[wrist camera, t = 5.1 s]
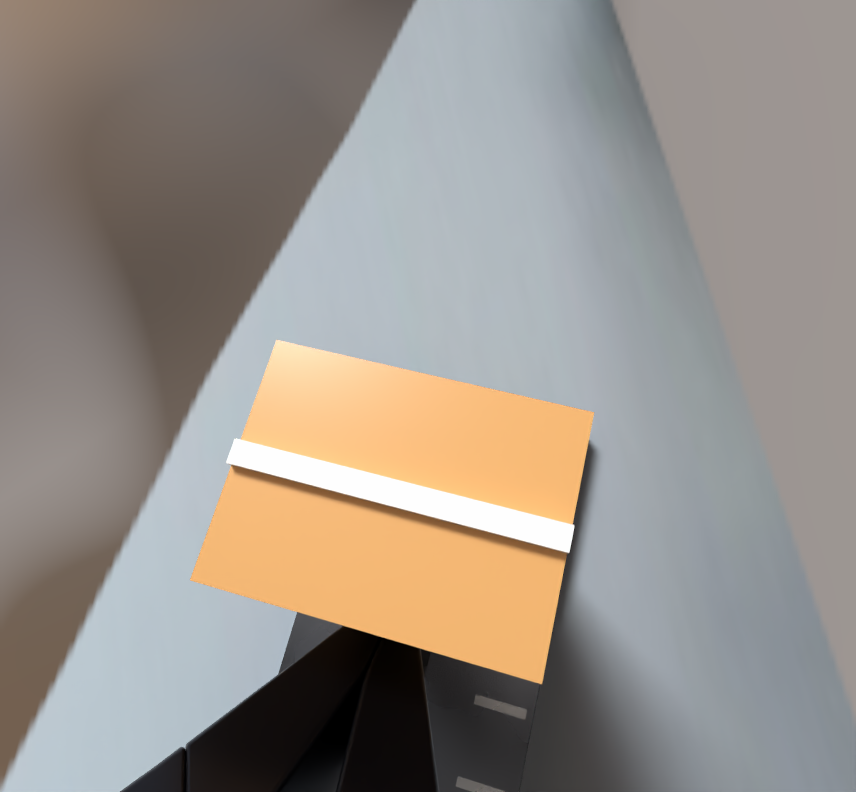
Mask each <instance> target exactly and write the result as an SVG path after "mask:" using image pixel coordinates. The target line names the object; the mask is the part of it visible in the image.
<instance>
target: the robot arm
mask: <svg viewBox="0 0 856 792" xmlns="http://www.w3.org/2000/svg"><path fill="white" fill-rule="evenodd" d="M120 792H439V785H438V777H437V770H436V762H435V755H434V747H433V740H432V732H431V725H430V717H429V710H428V702H427V694H426V687H425V679H424V672H423V664H422V657H421V649H420V648H417V647H414V646H410V645H407V644H404V643H400V642H397V641H394V640H390V639H387V638H383V637H380V636H377V635H373V634H370V633H367V632H363V631H360V630H356V629H353V628H350V627H346V626H342V627H341V628H339V629H338V630H337V631H335V632H334V633H333V634H331V635H330V636H329V637H327V638H326V639H325V640H323V641H322V642H321V643H319V644H318V645H317V646H315V647H314V648H313V649H311V650H310V651H309V652H307V653H306V654H305V655H303V656H302V657H301V658H300V659H298V660H297V661H296V662H294V663H293V664H292V665H290V666H289V667H288V668H286V669H285V670H284V671H282V672H281V673H280V674H278V675H277V676H276V677H274V678H273V679H272V680H270V681H269V682H268V683H266V684H265V685H264V686H262V687H261V688H260V689H258V690H257V691H256V692H254V693H253V694H252V695H250V696H249V697H248V698H246V699H245V700H244V701H243V702H241V703H240V704H239V705H237V706H236V707H235V708H233V709H232V710H231V711H229V712H228V713H227V714H225V715H224V716H223V717H221V718H220V719H219V720H217V721H216V722H215V723H213V724H212V725H211V726H209V727H208V728H207V729H205V730H204V731H203V732H201V733H200V734H199V735H197V736H196V737H195V738H193V739H192V740H191V741H190V742H188V743H187V744H186V751H185V748H184V747H180V748H179V749H178V750H176V751H175V752H174V753H172V754H171V755H170V756H168V757H167V758H166V759H164V760H163V761H162V762H160V763H159V764H158V765H157V766H155V767H154V768H152V769H151V770H150V771H148V772H147V773H145V774H144V775H143V776H141V777H140V778H138V779H137V780H136V781H134V782H133V783H131V784H130V785H129V786H127V787H126V788H124V789H123V790H122V791H120Z"/></svg>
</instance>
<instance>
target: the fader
mask: <svg viewBox="0 0 856 792" xmlns="http://www.w3.org/2000/svg"><path fill="white" fill-rule="evenodd" d="M593 416H594V412H590V411H586V410H581V409H577V408H573V407H568V406H564V405H560V404H555V403H551V402H546V401H542V400H538V399H533V398H529V397H525V396H520V395H516V394H511V393H507V392H503V391H498V390H494V389H490V388H485V387H481V386H476V385H472V384H468V383H463V382H459V381H455V380H450V379H446V378H441V377H437V376H433V375H428V374H424V373H420V372H415V371H411V370H406V369H402V368H398V367H393V366H389V365H385V364H380V363H376V362H371V361H367V360H363V359H358V358H354V357H350V356H345V355H341V354H336V353H332V352H328V351H323V350H319V349H314V348H310V347H306V346H301V345H297V344H293V343H288V342H284V341H279V340H276V343H275V346H274V348H273V351H272V354H271V357H270V359H269V362H268V365H267V368H266V371H265V373H264V376H263V379H262V382H261V384H260V387H259V390H258V393H257V396H256V398H255V401H254V404H253V407H252V409H251V412H250V415H249V418H248V421H247V423H246V426H245V429H244V432H243V434H242V437H241V440H240V439H236V438H235V440H234V442H233V445H232V448H231V451H230V453H229V456H228V459H227V462H226V463H228V464H230V465H231V468H230V471H229V473H228V476H227V479H226V482H225V484H224V487H223V490H222V493H221V495H220V498H219V501H218V504H217V507H216V509H215V512H214V515H213V518H212V520H211V523H210V526H209V529H208V532H207V534H206V537H205V540H204V543H203V545H202V548H201V551H200V554H199V557H198V559H197V562H196V565H195V568H194V570H193V573H192V576H191V579H190V580H191V581H194V582H198V583H201V584H204V585H208V586H211V587H215V588H218V589H221V590H225V591H228V592H231V593H235V594H238V595H242V596H245V597H248V598H252V599H255V600H258V601H262V602H265V603H269V604H272V605H275V606H279V607H282V608H285V609H289V610H292V611H296V612H299V613H302V614H306V615H309V616H312V617H316V618H319V619H323V620H326V621H329V622H333V623H336V624H340V625H343V626H346V627H350V628H353V629H356V630H360V631H363V632H367V633H370V634H373V635H377V636H380V637H383V638H387V639H390V640H394V641H397V642H400V643H404V644H407V645H410V646H414V647H417V648H421V649H424V650H427V651H431V652H434V653H437V654H441V655H444V656H448V657H451V658H454V659H458V660H461V661H465V662H468V663H471V664H475V665H478V666H481V667H485V668H488V669H492V670H495V671H498V672H502V673H505V674H508V675H512V676H515V677H519V678H522V679H525V680H529V681H532V682H535V683H539V684H542V682H543V676H544V671H545V666H546V661H547V655H548V650H549V645H550V640H551V635H552V629H553V624H554V619H555V614H556V609H557V603H558V598H559V593H560V588H561V582H562V577H563V572H564V567H565V562H566V556H567V553H569V552H570V547H571V542H572V537H573V532H574V526H575V525H573V520H574V515H575V509H576V504H577V499H578V494H579V489H580V483H581V478H582V473H583V468H584V463H585V457H586V452H587V447H588V442H589V436H590V431H591V426H592V421H593Z"/></svg>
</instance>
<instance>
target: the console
mask: <svg viewBox="0 0 856 792" xmlns="http://www.w3.org/2000/svg"><path fill="white" fill-rule="evenodd" d="M342 626H343V625H340V624H336V623H333V622H329V621H326V620H323V619H319V618H316V617H312V616H309V615H306V614H302V613H299V612H297V615H296V618H295V622H294V625H293V628H292V631H291V635H290V638H289V641H288V644H287V648H286V651H285V654H284V657H283V661H282V664H281V667H280V670H279V674H280V673H281V672H282V671H284V670H285V669H286V668H288V667H289V666H290V665H292V664H293V663H294V662H296V661H297V660H298V659H300V658H301V657H302V656H303V655H305V654H306V653H307V652H309V651H310V650H311V649H313V648H314V647H315V646H317V645H318V644H319V643H321V642H322V641H323V640H325V639H326V638H327V637H329V636H330V635H331V634H333V633H334V632H335V631H337V630H338V629H339V628H341V627H342ZM420 649H421V648H420ZM421 657H422V664H423V672H424V679H425V687H426V694H427V702H428V710H429V717H430V725H431V732H432V740H433V747H434V755H435V762H436V770H437V777H438V785H439V792H519V789H520V784H521V779H522V774H523V769H524V763H525V758H526V753H527V748H528V743H529V737H530V732H531V727H532V722H533V717H534V711H535V706H536V701H537V696H538V691H539V686H540V684H539V683H535V682H532V681H529V680H525V679H522V678H519V677H515V676H512V675H508V674H505V673H502V672H498V671H495V670H492V669H488V668H485V667H481V666H478V665H475V664H471V663H468V662H465V661H461V660H458V659H454V658H451V657H448V656H444V655H441V654H437V653H434V652H431V651H427V650H424V649H421Z"/></svg>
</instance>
